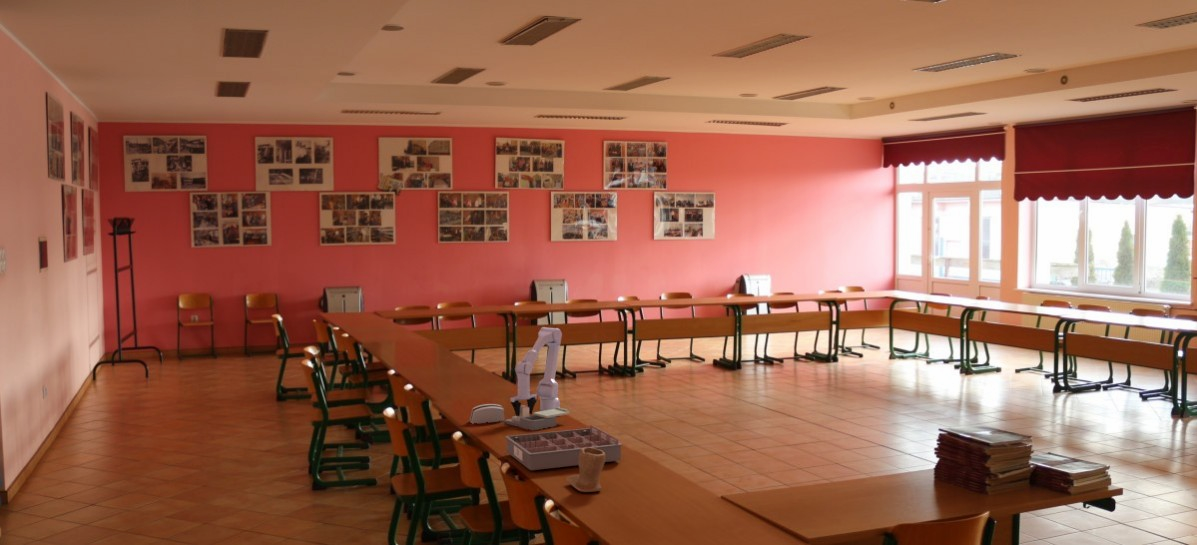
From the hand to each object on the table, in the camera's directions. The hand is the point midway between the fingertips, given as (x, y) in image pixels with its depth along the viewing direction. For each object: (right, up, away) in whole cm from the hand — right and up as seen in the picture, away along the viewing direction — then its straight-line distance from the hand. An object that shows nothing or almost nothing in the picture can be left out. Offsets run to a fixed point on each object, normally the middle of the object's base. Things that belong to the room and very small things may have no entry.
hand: (523, 414), depth 453 cm
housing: (+3, -4, -3) cm, 6 cm away
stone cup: (+32, -11, -107) cm, 112 cm away
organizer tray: (+21, -9, -66) cm, 70 cm away
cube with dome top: (0, -2, 0) cm, 2 cm away
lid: (+13, +1, -3) cm, 14 cm away
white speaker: (-18, -4, +2) cm, 18 cm away
